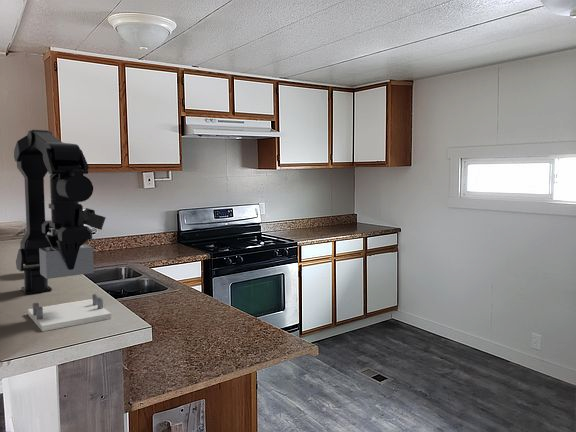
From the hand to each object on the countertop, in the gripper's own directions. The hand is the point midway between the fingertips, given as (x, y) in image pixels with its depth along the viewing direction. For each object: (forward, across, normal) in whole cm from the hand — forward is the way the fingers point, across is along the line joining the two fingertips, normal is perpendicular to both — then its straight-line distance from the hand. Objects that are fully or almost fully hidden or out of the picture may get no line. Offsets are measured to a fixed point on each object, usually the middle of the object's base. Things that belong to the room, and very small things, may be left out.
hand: (67, 267), depth 109 cm
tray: (+12, 0, 0) cm, 12 cm away
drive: (+2, 0, 0) cm, 2 cm away
